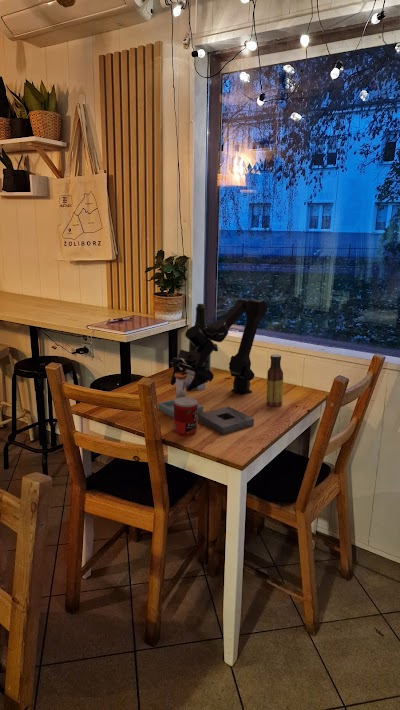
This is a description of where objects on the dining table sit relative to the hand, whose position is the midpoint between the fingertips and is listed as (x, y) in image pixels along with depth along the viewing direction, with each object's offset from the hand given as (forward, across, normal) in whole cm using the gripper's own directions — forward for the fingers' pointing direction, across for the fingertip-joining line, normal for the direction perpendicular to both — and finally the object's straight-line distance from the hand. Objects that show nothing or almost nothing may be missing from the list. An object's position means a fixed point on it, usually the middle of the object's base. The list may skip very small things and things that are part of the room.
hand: (179, 387), depth 175 cm
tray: (+6, 0, +7) cm, 9 cm away
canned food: (+14, +15, -1) cm, 20 cm away
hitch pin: (+6, 0, +7) cm, 9 cm away
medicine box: (-10, -16, +24) cm, 30 cm away
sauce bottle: (-17, +18, +31) cm, 39 cm away
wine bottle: (-20, -30, +34) cm, 50 cm away
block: (+3, +19, +10) cm, 22 cm away
